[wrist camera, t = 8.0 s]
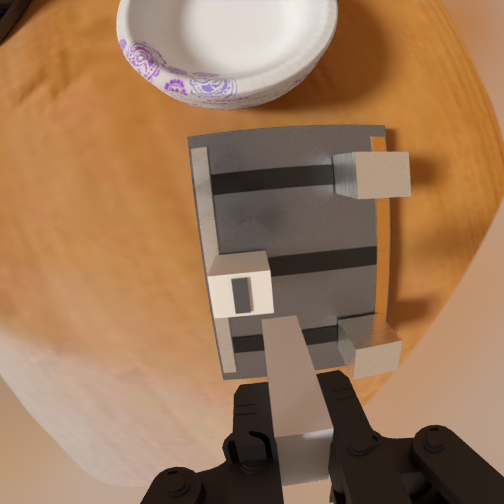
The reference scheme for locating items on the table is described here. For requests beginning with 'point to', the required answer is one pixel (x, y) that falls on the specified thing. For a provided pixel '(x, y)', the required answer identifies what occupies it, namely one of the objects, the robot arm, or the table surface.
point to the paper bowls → (225, 46)
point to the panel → (305, 237)
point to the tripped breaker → (240, 285)
